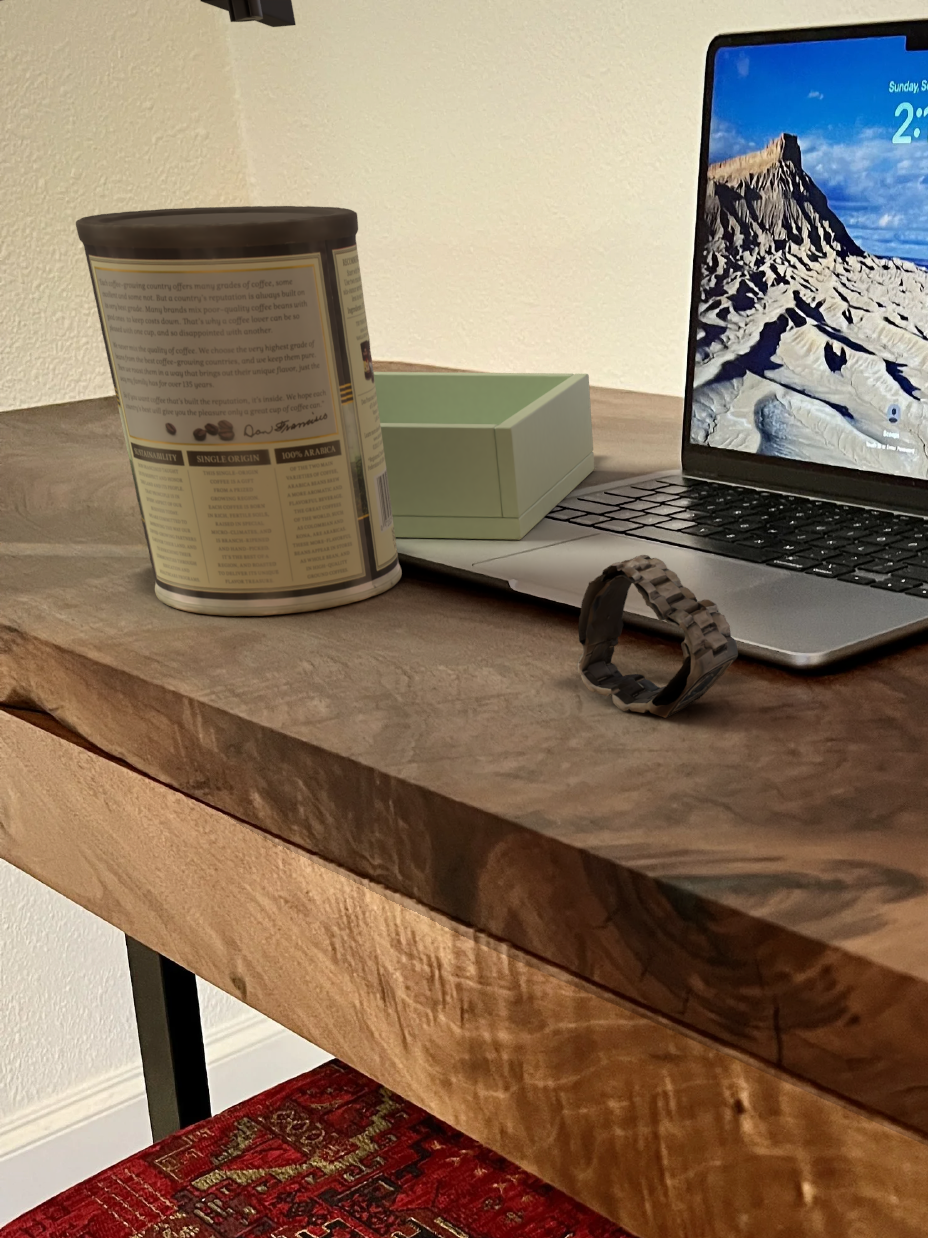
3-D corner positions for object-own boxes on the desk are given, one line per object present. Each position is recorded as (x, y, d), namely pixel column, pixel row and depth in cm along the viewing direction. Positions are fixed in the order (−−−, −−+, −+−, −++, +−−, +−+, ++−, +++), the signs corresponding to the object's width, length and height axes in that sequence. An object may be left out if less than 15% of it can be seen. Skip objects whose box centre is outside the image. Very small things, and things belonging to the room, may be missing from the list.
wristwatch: (628, 756, 54) (711, 663, 51) (543, 634, 54) (620, 534, 51) (684, 740, 56) (767, 649, 53) (603, 623, 57) (680, 526, 53)
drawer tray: (181, 533, 76) (160, 423, 74) (307, 465, 91) (293, 370, 88) (521, 540, 75) (511, 427, 72) (595, 469, 89) (588, 373, 87)
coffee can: (126, 576, 70) (48, 212, 62) (355, 544, 74) (307, 202, 67) (190, 632, 62) (110, 225, 55) (439, 593, 67) (395, 213, 60)
